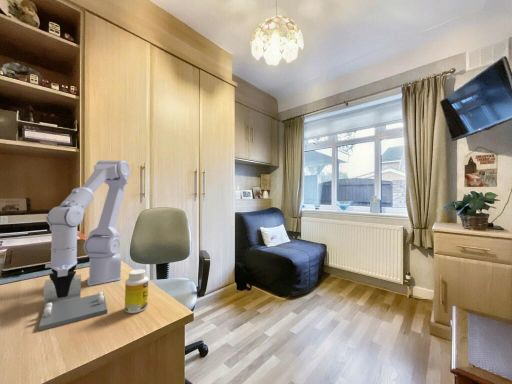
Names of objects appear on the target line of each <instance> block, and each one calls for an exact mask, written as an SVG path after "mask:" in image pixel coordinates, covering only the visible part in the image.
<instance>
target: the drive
mask: <svg viewBox="0 0 512 384" xmlns="http://www.w3.org/2000/svg"><path fill="white" fill-rule="evenodd" d="M81 285H82V275H81V274H75V275H74V277H73V279H72V281H71V284H70V289H69V293H68V296H66V297H62V298H58V297H57V294H56V289H55V286H54V283H53V282H52V280H51V279H50V278H49V279H45V281H44V284H43V305H42V307H44V308H45V305H46V304H47V303H52V304H54V303H58V302H63V301H68V300H72V299H77V298H81V294H82V293H81V292H82V291H81V290H82V288H81V287H82V286H81Z"/></svg>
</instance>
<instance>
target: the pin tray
mask: <svg viewBox="0 0 512 384" xmlns="http://www.w3.org/2000/svg"><path fill="white" fill-rule="evenodd" d="M105 314H108V306H107V302H106V298H105V293H104V291H98V293H97V294H92V295H87V296H84V297H80V298H77V299H72V300H68V301H63V302H58V303H54V304H52V303H47V304H46V305H45V306H44V309H43V311H42V315H41V318H40V322H39V324H38V332H42V331H45V330H49V329H52V328H55V327H60V326H64V325H68V324H72V323H76V322H78V321H82V320H86V319H90V318H94V317H98V316H102V315H105Z"/></svg>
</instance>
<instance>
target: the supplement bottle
mask: <svg viewBox="0 0 512 384" xmlns="http://www.w3.org/2000/svg"><path fill="white" fill-rule="evenodd" d="M124 288H125V290H124V291H125V293H124V294H125V295H124V310H125V312H126V313H127V314H136V313H140V312H142V311H144V310H145V309H147V308H148V303H149V301H148V300H149V277H148V276H146V270H145V269H142V268H138V269H134V270H130V271H129V274H128V278H127V279H126V281H125V287H124Z"/></svg>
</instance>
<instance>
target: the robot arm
mask: <svg viewBox="0 0 512 384" xmlns="http://www.w3.org/2000/svg"><path fill="white" fill-rule="evenodd" d="M130 174H131V168H130V165H129V163H128V161H126V160H124V159H123V160H122V159H121V160H110V159H109V160H108V159H107V160H105V159H99V160H98V161H97V162H96V163H95V164H94V165H93V171H92V173H91V175H89V177H88V178H87V180H86V182H85V183H84V184H83V185H82V187H80V186H79V187H76V188H73V189H71V193H70V194H69V195H68V196H67V197H66V198H64V200H63V201H62V202H61V203H60V205H58V206H54V207H52V209H50V210H49V212H48V214H47V216H46V215H45V221H46V223H47V224H48V225H49V231H50V232H51V241H50V242H51V247H50V248H51V250H50V251H51V252H50V253H51V254H50V262H49V263H46V264H44V265H45V267H44V268H45V269H47V268H51V272H52V273H49V280H50V279H51V280H52V282H53V283H54V286H55V289H56V294H57V297H58V298H62V297H66V296H68V293H69V289H70V284H71V281H72V279H73V277H74V275H77V271H76V268H77V264H78V259H77V258H78V257H77V256H78V255H77V254H78V226H79V224H81V223H82V222H83V219H84V215H85V213H86V209H87V208H88V206H89V205H90V203H92V201H93V200H94V198H95V194H94V193H95V192H96V191H97V190H98V189H99V187H101V186H102V185H103V183H104V184H106V185H108V190H107V195H106V196H105V197H106V198H105V200H104V204H103V207H102V211H101V214H100V217H99V221H98V224H97V227H96V228H94V229H93V230H91V231H90V232H89V233H88V236H87V238H86V239H85V241H84V243H83V250H84V252H85V253H86V254H87V257H89V264H88V265H89V267H88V268H89V269H88V271H89V272H88V277H87V278H86V279H87V286H88V287H90V286H95V285H100V284H106V283H111V282H116V281H120V280H121V276H122V275H121V273H122V257H121V253H118V251H119V249H120V247H121V235H122V234H121V233H119V232H118V231H117V229H116V225H117V221H118V218H119V214H120V210H121V206H122V202H123V199H124V195H125V191H126V187H127V184H128V182H129V179H130Z"/></svg>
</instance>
